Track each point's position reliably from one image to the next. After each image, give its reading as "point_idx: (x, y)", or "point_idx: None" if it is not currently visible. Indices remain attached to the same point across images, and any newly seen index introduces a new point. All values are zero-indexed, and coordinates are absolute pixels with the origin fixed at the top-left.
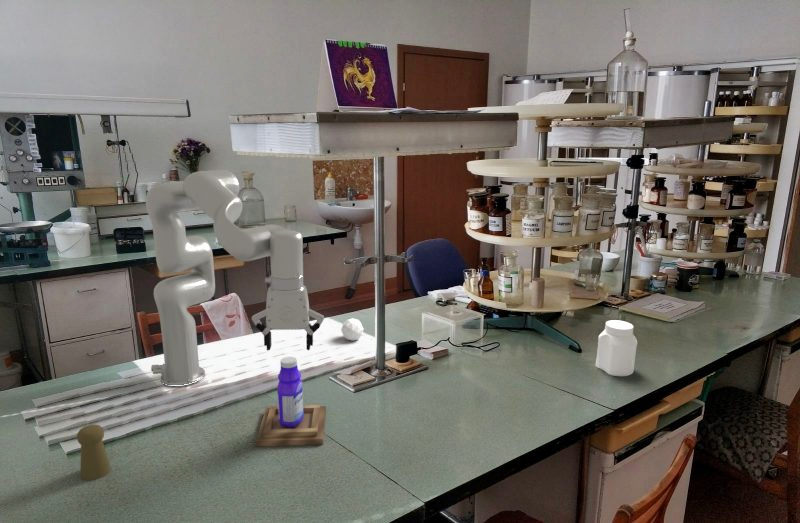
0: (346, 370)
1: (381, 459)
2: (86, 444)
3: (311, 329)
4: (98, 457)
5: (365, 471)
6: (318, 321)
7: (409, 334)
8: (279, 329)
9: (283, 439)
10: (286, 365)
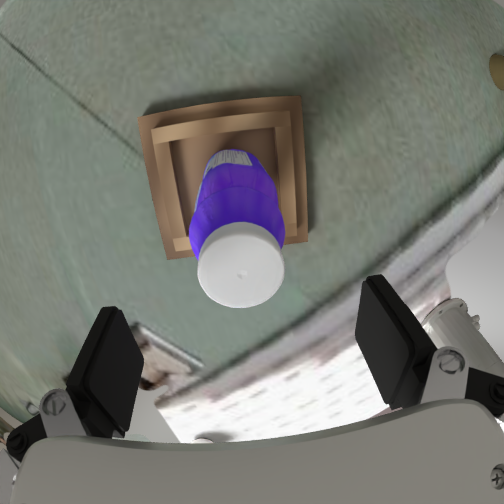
0: (179, 382)
1: (30, 96)
2: None
3: (48, 428)
4: None
5: (52, 52)
6: (7, 471)
7: None
8: (349, 425)
9: (233, 103)
10: (243, 228)
